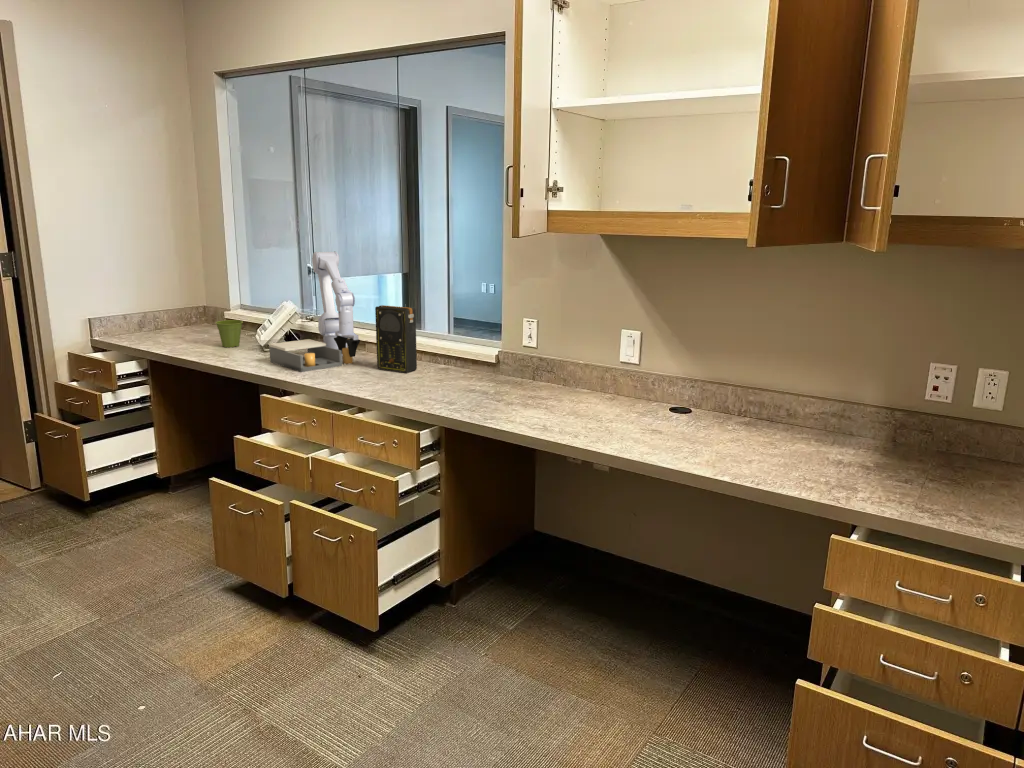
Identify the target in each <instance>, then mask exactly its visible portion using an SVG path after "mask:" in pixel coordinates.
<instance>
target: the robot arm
mask: <svg viewBox="0 0 1024 768" xmlns="http://www.w3.org/2000/svg"><path fill="white" fill-rule="evenodd" d="M311 261H312V262H311V263H312V266H313V267H312V270H313V272H314V273H315V274H316V275H317V277H318V281H319V288H320V295H321V303H322V308H323V309H322V310H323V313H322V314H321V315H320V316H319V317H318V318H317V319H318V320H317V321H318V329H317V330H318V332H319V335H321V336H322V337H323V340H322V341H323V342H322V343H326V346H327V347H330V348H334V349H338V350H342V348H348V349H349V355H350V357H353V358H355V357H356V355H357V349H358V346H359V344H360V343H361V339H359V334H356V333H355V331H354V310H353V307H354V306H355V305H356V304H355V303H356V298H355V295H354V292H353V291H351V290H350V289H349V288H348V284H347V283H346V280H345V279H344V278H342V277H341V274H340V271H339V263H340V255H339V254H338V252H337V251H320V252H319V251H314V252H313V253H312V258H311ZM333 293H334V294H333ZM334 295H335V299H334ZM335 306H336V307H335ZM336 310H337V311H336Z"/></svg>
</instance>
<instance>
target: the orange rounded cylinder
mask: <svg viewBox="0 0 1024 768" xmlns="http://www.w3.org/2000/svg"><path fill="white" fill-rule="evenodd" d="M303 358H304V360H305V366H306V367H310V366H315V353H308V352H306V353H304V355H303Z"/></svg>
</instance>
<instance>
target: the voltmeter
mask: <svg viewBox="0 0 1024 768" xmlns="http://www.w3.org/2000/svg"><path fill="white" fill-rule="evenodd" d="M416 310H417V309H416V308H414V307H406V306H405V307H404V306H394V305H383V304H381V305H379V306H375V310H374V311H375V312H374V313H375V340H376V344H375V346H376V366H377V367H376V368H377V369H378V370H382V371H388V372H393V373H394V372H396V373H402V374H408V373H410V372H413V371H416V370H417V368H418V364H417V363H418V362H417V361H418V358H417V354H418V353H417V321H416V320H417V319H416V317H417V316H416V315H417V312H416Z"/></svg>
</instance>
